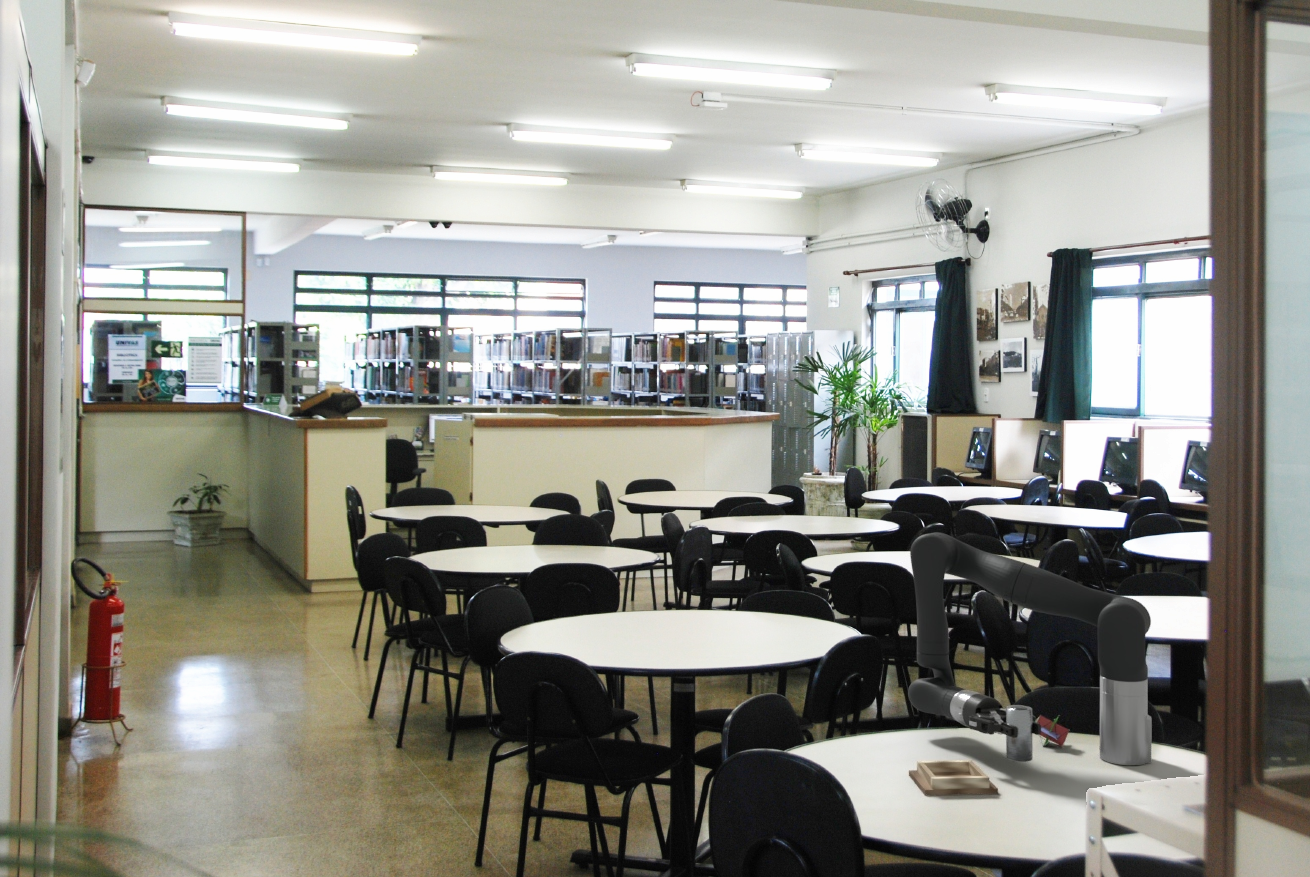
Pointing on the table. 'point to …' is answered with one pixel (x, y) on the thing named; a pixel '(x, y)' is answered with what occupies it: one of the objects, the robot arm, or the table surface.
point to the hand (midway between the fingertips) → (1027, 731)
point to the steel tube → (1019, 733)
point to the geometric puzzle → (1052, 731)
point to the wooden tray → (951, 778)
